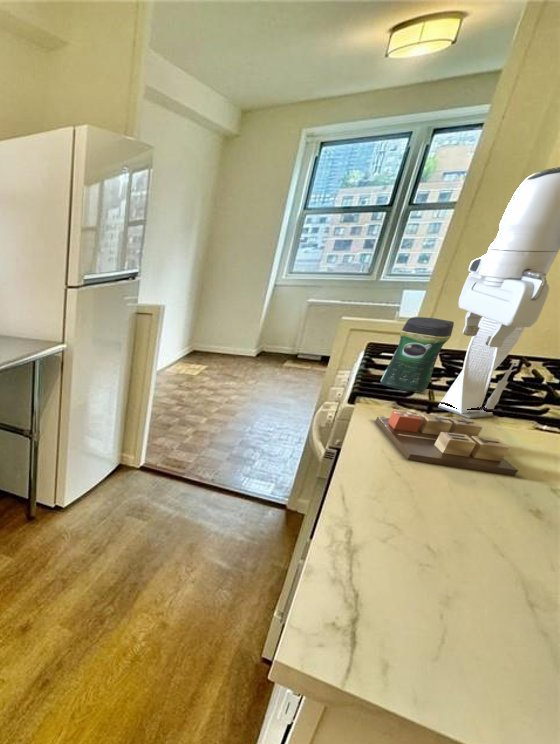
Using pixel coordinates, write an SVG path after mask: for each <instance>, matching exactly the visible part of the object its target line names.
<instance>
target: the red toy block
mask: <svg viewBox="0 0 560 744" xmlns="http://www.w3.org/2000/svg"><path fill="white" fill-rule="evenodd" d="M421 417H422V416H421V414H418V413H416V412H411V411H403V410H397V409H393V410H392V412H391V414H390V416H389V417H388V418H389V421H388V423H389V424H390V425H391V426H392V428H393V429H396V430H404V431H411V432H417V431H418V428H419V426H420V424H421V422H422V420H423V419H422V418H421Z"/></svg>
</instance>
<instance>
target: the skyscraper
mask: <svg viewBox="0 0 560 744" xmlns="http://www.w3.org/2000/svg"><path fill="white" fill-rule="evenodd" d="M497 324H498V322H495V321H492V320H490V319H487V318H485V317H482V318H480V321H479V325H478V327H479V330H478V332H477V335H475V336H471V338H470V341H469V344H468V347H467V349H466V354H465V357H464V361H463V365H462V370H461V371H460V373H459V374H458V376H457V377H456V379H455V380H454V382H453V383H452V384H451V386H450V387H449V389H448V390H447V392H446V393H445V395H444V397H443V398H442V399H441V401H440V402H445V403H448V404H450V405H452V406H453V407H455V408H453V407H450V406H447V405H445V404H441V403H440V402H439V404H438V405H437V407H438V408H439V409H442V410H445V411H448V412H451V413H454V414H456V415H458V416H459V415H460V416H462V417H466V418H467V419H475V418H484V417H486V418H487V417H493V416H494V413H493V412H486V411H484V410H483V409H480V410H467V409H471V408H477V407H479V408H480V407H481V408H482V406H483V404H484V401H485V398H486V395H487V392H488V389H489V386H490V383H491V380H492V377H493V373H494V372H495V371H496V369H498V367H499V366H500V365H501V364H502V362H504V360H505V359H506V358H507V357H508V356H509V354H510V353H511V352H512V350H513V349H514V348H515V346H516V344H517V343H518V342H519V340H520V338H521V337H522V335H523V333H524V331H525V329H526V327H516V328H515V330H514V331H513V332H512V333H511V334H510V335H509V336H508V337H507V338H505V340H504V342H503V344H502V346H501V347H498V348H497V347H490V346H487V345H486V341H487V339H488V337H489V336H492V335H493V334H494V332H495V331H496V330H497V329H496V326H497ZM514 366H515V362H511V365H510V367H509V368H508V369H506V371H505V373H504V376H503V377H502V379H500V380H498V381H497V384H496V387H495V389H494V390H493V391H492V393H491V395H490V396H489V397H488V398H487V401H486V403H485V405H484V407H485V408H487V409H493V410H494V409H495V406H496V405H497V404H498V403H499V401H500V397H501V395H502V393H503V391H504V389H506V387H507V385H508V384H509V382H508V379H509V377H510V375H511V374H512V373H513V370H512V369H513V367H514ZM456 408H457V409H456Z"/></svg>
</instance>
